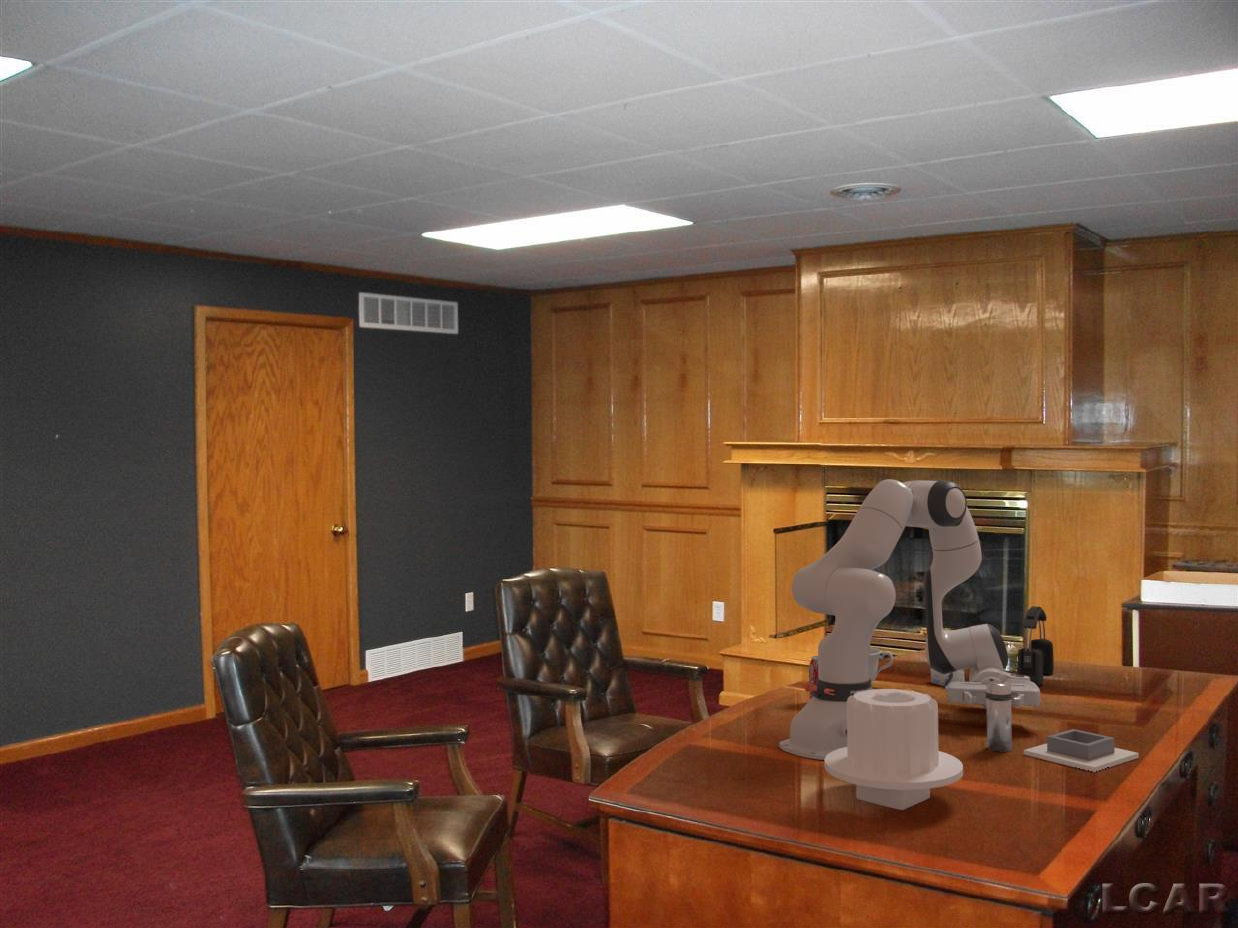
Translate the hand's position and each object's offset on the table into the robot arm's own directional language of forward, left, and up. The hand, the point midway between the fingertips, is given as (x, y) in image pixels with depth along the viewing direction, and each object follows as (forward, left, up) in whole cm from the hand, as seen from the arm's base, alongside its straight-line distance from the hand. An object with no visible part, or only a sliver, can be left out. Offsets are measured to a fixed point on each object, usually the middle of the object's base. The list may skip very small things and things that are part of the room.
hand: (995, 701), depth 246 cm
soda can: (-7, +46, -8) cm, 47 cm away
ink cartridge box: (+34, +40, -8) cm, 53 cm away
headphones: (+59, +30, -8) cm, 66 cm away
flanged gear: (-50, -14, -8) cm, 53 cm away
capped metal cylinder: (-7, -6, -8) cm, 12 cm away
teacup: (+16, +53, -8) cm, 56 cm away
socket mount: (+1, -20, -8) cm, 22 cm away
